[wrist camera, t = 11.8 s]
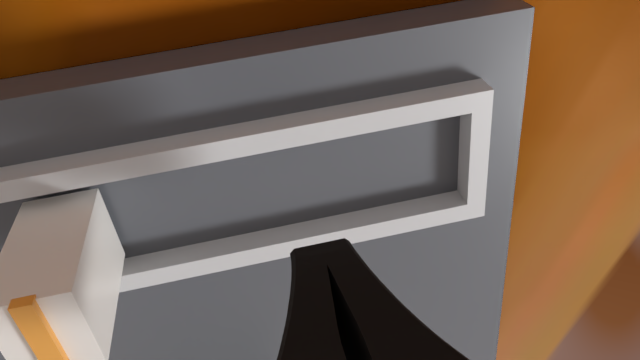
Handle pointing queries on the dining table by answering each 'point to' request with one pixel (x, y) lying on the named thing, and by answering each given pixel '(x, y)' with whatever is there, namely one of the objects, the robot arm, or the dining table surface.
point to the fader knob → (60, 280)
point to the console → (289, 171)
